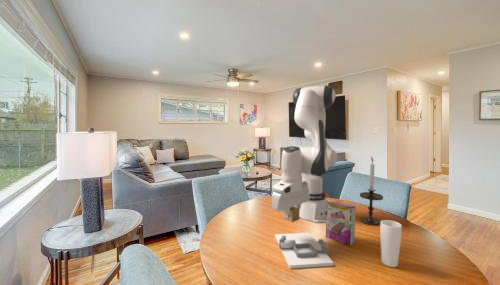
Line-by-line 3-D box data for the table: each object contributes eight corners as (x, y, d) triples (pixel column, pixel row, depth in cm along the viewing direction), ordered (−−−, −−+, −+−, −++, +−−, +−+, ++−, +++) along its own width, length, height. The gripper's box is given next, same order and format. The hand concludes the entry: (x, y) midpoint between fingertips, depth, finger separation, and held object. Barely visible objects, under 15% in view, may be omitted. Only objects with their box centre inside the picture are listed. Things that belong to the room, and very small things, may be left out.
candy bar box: (325, 237, 104) (326, 201, 103) (330, 234, 108) (331, 199, 107) (350, 246, 96) (351, 208, 95) (355, 242, 100) (356, 205, 99)
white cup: (374, 258, 87) (376, 220, 86) (391, 257, 88) (393, 219, 87) (386, 269, 80) (388, 227, 80) (405, 268, 81) (406, 227, 80)
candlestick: (354, 219, 125) (356, 155, 123) (370, 217, 129) (372, 154, 127) (370, 227, 115) (372, 157, 113) (387, 224, 118) (389, 156, 116)
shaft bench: (308, 235, 106) (308, 224, 106) (333, 265, 83) (333, 252, 82) (272, 237, 105) (272, 226, 104) (287, 268, 81) (287, 255, 80)
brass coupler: (291, 216, 104) (291, 204, 103) (299, 219, 100) (299, 207, 100) (284, 218, 101) (284, 206, 101) (292, 222, 98) (292, 209, 97)
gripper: (302, 179, 108) (302, 207, 109) (269, 187, 96) (269, 219, 97) (313, 181, 103) (313, 211, 104) (279, 190, 91) (280, 224, 92)
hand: (291, 215), depth 101 cm, fingers closed on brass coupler, 4 cm apart
